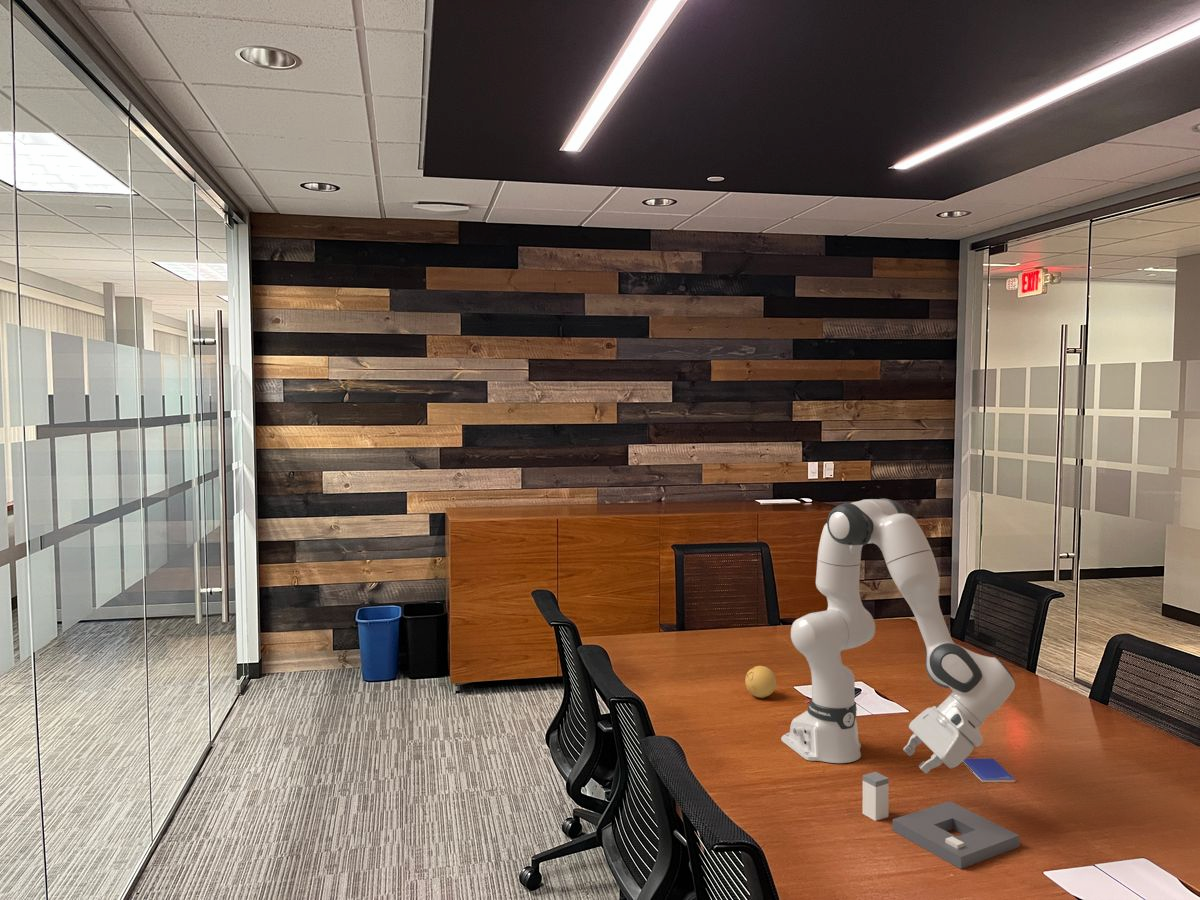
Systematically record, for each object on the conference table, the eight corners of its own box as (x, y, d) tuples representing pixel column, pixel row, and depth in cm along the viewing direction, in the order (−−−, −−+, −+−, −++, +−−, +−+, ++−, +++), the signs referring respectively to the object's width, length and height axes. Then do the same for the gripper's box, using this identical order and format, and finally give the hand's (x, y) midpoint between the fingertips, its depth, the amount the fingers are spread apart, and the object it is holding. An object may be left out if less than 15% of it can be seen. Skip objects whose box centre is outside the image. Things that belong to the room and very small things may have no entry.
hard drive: (1016, 778, 211) (994, 758, 223) (982, 778, 211) (962, 758, 224) (1015, 785, 211) (994, 764, 224) (982, 785, 211) (962, 764, 224)
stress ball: (779, 699, 275) (769, 672, 282) (781, 683, 268) (771, 656, 276) (749, 706, 274) (740, 679, 282) (751, 690, 268) (741, 663, 275)
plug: (862, 813, 196) (862, 775, 196) (875, 809, 198) (875, 771, 198) (875, 820, 193) (875, 782, 192) (888, 816, 195) (888, 778, 194)
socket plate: (892, 830, 188) (892, 815, 188) (949, 811, 197) (949, 797, 197) (960, 869, 172) (960, 853, 172) (1019, 846, 181) (1019, 831, 181)
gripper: (928, 693, 205) (888, 734, 205) (966, 725, 184) (921, 770, 185) (947, 711, 205) (906, 752, 205) (986, 745, 185) (941, 790, 185)
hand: (913, 761), depth 195 cm, fingers open, 8 cm apart
